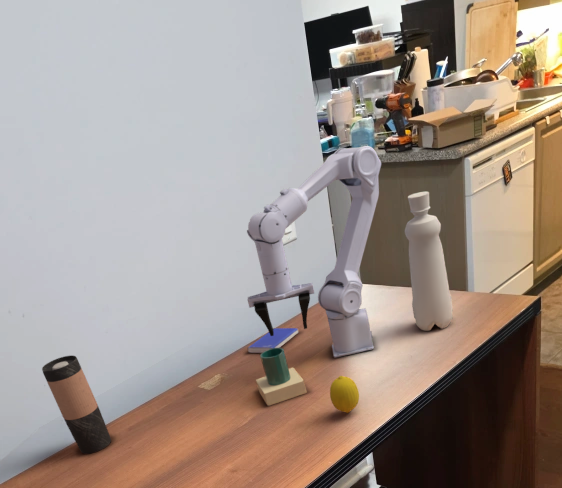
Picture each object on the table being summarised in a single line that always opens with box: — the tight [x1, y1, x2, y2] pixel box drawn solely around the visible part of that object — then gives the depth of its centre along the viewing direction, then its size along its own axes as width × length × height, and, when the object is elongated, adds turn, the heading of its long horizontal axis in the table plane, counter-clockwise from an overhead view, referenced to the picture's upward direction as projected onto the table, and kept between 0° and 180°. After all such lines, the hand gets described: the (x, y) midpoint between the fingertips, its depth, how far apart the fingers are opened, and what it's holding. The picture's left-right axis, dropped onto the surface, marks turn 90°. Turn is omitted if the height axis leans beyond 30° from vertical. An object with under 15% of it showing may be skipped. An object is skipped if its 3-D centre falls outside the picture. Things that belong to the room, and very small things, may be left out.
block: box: [255, 367, 308, 407], centre depth 144 cm, size 9×9×3 cm
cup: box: [259, 347, 291, 385], centre depth 141 cm, size 5×5×6 cm
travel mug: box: [41, 355, 112, 455], centre depth 139 cm, size 8×8×20 cm
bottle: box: [404, 191, 454, 332], centre depth 149 cm, size 9×9×30 cm
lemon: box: [329, 375, 360, 414], centre depth 127 cm, size 6×6×8 cm
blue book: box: [247, 327, 299, 354], centre depth 172 cm, size 2×8×12 cm
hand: (288, 330), depth 146 cm, fingers open, 7 cm apart
